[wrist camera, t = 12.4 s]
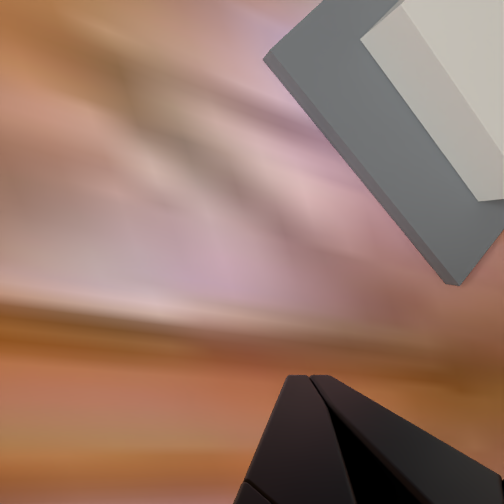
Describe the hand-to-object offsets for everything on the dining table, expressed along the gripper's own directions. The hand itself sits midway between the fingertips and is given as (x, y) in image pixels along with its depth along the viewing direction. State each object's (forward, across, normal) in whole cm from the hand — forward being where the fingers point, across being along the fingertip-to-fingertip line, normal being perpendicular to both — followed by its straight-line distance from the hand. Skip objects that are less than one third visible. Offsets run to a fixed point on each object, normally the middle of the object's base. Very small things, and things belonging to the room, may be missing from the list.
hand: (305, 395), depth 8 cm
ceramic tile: (+14, +9, +5) cm, 17 cm away
